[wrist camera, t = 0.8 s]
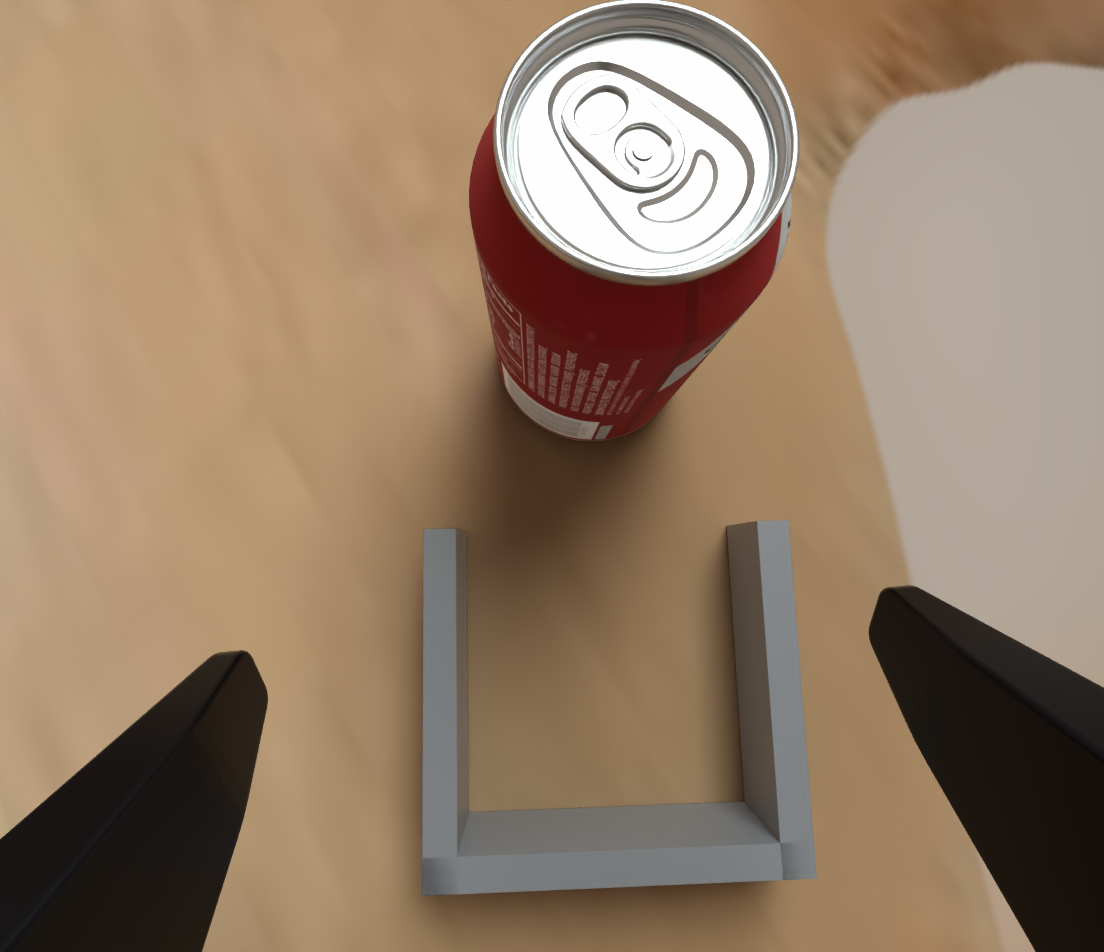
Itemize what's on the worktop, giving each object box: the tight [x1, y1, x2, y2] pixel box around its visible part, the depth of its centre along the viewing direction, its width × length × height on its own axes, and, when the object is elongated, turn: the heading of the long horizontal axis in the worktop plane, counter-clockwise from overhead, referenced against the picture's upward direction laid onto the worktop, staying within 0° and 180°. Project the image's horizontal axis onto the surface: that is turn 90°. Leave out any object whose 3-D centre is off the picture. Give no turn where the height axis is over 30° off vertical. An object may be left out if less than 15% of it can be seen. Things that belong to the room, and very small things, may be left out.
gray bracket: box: [422, 520, 817, 896], centre depth 19 cm, size 10×12×3 cm
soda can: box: [469, 0, 799, 442], centre depth 16 cm, size 7×7×12 cm
